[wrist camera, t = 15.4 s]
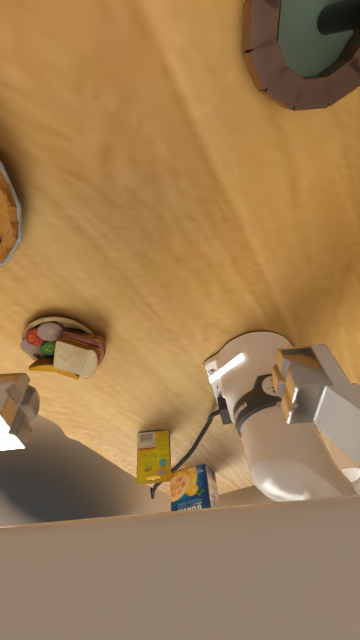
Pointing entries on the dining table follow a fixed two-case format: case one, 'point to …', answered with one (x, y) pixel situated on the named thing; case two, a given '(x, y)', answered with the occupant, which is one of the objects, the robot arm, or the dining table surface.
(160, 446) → the crayon box
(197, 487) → the blue yellow food box
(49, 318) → the toy sandwich meal
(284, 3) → the stand
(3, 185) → the pie
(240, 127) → the dining table surface
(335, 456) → the white cup
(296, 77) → the ring
